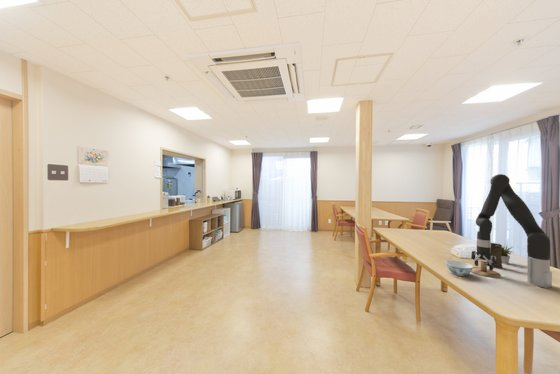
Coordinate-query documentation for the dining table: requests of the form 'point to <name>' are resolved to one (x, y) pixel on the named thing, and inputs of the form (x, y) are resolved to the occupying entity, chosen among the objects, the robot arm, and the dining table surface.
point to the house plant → (505, 255)
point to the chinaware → (459, 267)
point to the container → (496, 252)
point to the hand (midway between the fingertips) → (483, 267)
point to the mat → (492, 278)
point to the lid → (485, 271)
